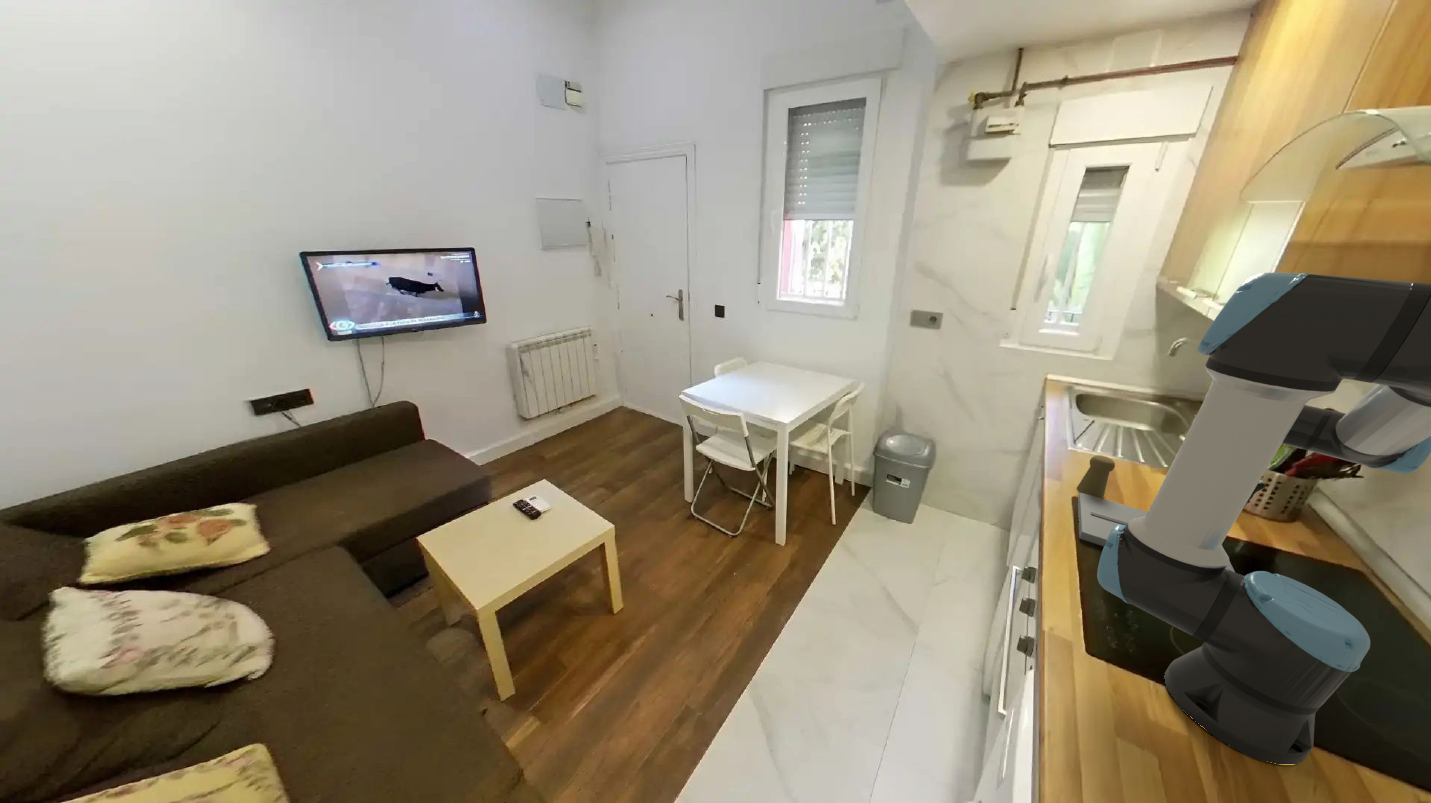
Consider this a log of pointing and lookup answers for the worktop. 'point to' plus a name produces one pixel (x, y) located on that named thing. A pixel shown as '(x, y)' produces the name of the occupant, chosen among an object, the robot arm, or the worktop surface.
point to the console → (1105, 518)
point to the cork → (1096, 476)
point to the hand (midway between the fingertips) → (1185, 533)
